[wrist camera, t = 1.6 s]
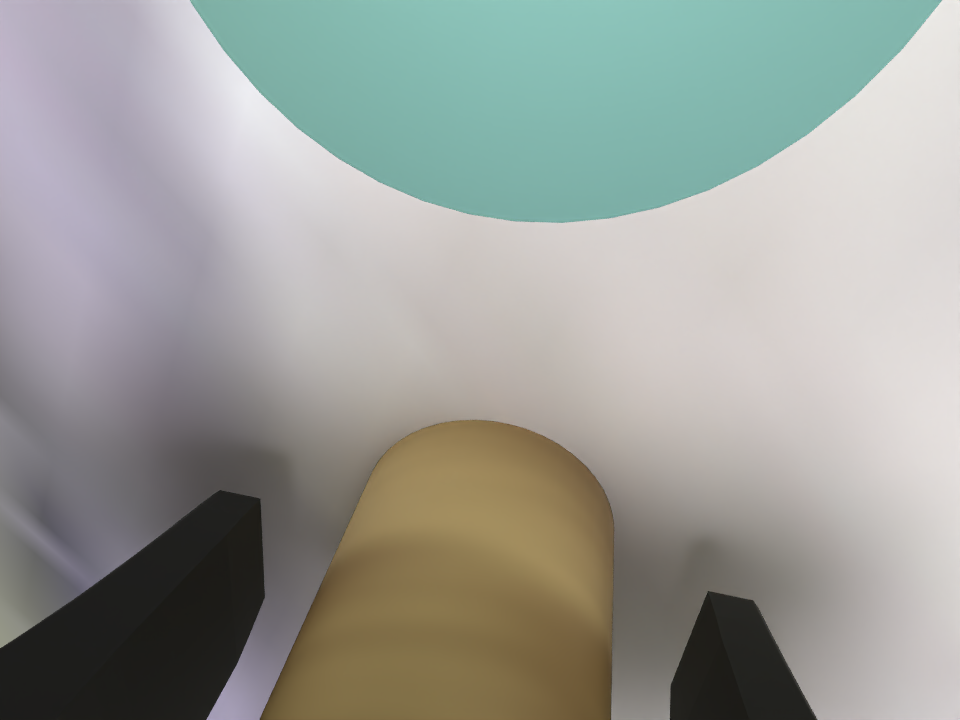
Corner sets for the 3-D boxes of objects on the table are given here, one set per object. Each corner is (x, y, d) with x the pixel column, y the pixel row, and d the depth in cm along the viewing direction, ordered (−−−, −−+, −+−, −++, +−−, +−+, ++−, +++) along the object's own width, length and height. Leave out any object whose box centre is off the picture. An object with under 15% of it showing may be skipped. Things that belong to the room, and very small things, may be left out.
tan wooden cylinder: (642, 596, 12) (652, 956, 8) (420, 624, 14) (327, 949, 9) (570, 394, 11) (534, 715, 6) (324, 447, 12) (155, 747, 8)
